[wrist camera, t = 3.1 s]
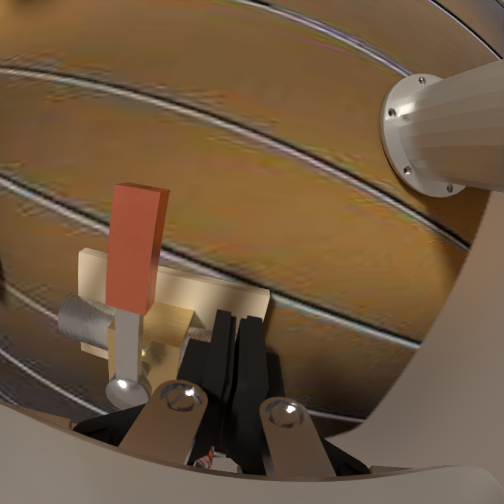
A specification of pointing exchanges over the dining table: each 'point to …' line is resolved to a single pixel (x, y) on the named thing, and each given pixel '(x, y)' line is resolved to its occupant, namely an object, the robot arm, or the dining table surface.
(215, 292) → the board
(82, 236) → the dining table surface
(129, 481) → the robot arm
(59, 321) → the valve body
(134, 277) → the lever
